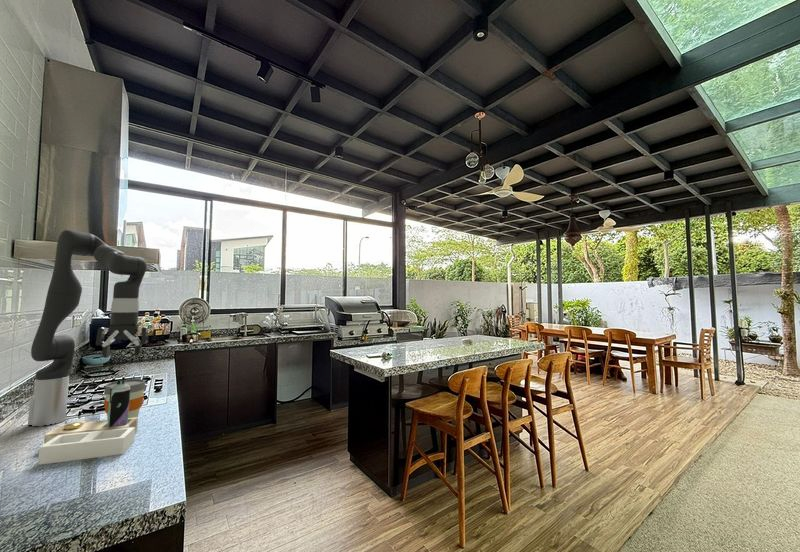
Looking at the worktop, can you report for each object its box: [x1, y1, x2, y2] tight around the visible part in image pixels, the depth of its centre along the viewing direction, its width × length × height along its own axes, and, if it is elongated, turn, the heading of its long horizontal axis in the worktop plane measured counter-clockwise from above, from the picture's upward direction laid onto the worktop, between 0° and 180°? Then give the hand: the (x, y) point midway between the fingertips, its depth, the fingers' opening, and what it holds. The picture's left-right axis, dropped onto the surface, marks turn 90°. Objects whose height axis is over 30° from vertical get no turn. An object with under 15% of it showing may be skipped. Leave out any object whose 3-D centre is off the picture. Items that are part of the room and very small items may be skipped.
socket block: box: [43, 416, 139, 445], centre depth 111 cm, size 22×9×5 cm, turn 111°
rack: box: [37, 427, 136, 466], centre depth 103 cm, size 20×9×5 cm, turn 111°
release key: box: [64, 421, 83, 430], centre depth 109 cm, size 4×4×6 cm
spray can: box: [107, 379, 130, 427], centre depth 114 cm, size 6×6×20 cm
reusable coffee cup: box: [103, 378, 146, 420], centre depth 128 cm, size 13×13×15 cm
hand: (121, 356), depth 115 cm, fingers open, 8 cm apart
